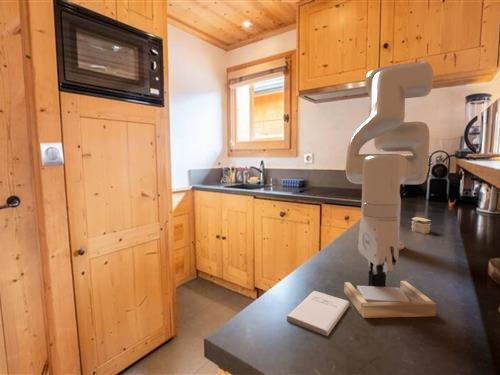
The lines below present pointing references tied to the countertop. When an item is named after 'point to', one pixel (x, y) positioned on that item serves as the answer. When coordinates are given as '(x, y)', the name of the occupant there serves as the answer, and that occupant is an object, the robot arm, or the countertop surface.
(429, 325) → the countertop surface
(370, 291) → the light grey slab
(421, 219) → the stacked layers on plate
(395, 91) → the robot arm
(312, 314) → the external hard drive
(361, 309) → the pine rack
